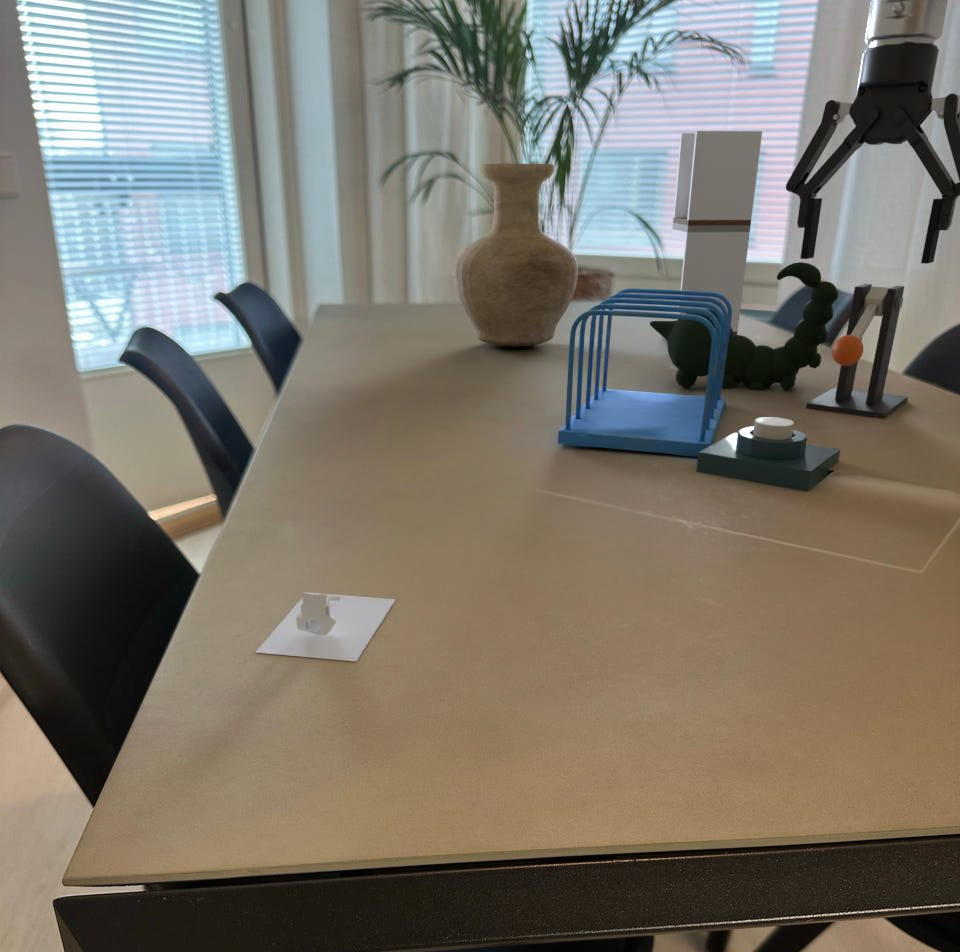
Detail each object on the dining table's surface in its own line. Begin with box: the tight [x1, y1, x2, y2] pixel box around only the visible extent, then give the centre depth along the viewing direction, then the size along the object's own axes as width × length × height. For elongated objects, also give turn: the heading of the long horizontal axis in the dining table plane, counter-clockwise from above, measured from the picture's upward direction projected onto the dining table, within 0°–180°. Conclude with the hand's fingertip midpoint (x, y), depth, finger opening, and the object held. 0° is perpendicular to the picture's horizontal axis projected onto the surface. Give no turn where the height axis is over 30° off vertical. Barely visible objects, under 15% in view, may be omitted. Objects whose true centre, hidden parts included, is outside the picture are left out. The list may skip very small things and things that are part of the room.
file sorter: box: [557, 287, 732, 458], centre depth 111 cm, size 25×17×15 cm
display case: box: [671, 130, 763, 335], centre depth 169 cm, size 11×11×35 cm
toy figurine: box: [649, 261, 839, 392], centre depth 131 cm, size 9×19×25 cm
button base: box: [696, 425, 841, 493], centre depth 97 cm, size 12×10×4 cm
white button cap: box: [753, 416, 795, 440], centre depth 96 cm, size 4×4×2 cm
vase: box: [452, 163, 579, 347], centre depth 163 cm, size 22×22×30 cm
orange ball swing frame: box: [805, 283, 909, 420], centre depth 119 cm, size 12×10×16 cm
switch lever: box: [831, 286, 890, 366], centre depth 114 cm, size 14×4×4 cm, turn 144°
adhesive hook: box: [295, 592, 341, 636], centre depth 63 cm, size 3×3×3 cm
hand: (865, 260), depth 106 cm, fingers open, 13 cm apart
